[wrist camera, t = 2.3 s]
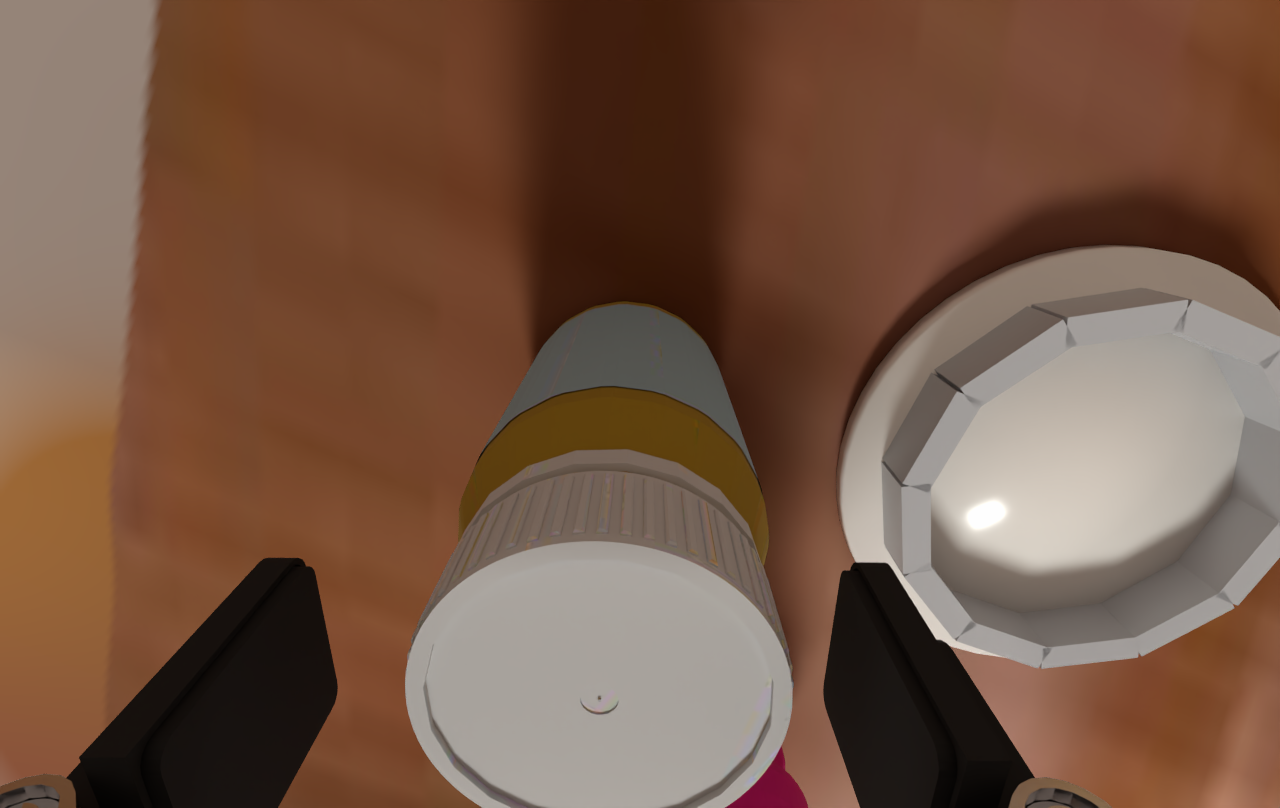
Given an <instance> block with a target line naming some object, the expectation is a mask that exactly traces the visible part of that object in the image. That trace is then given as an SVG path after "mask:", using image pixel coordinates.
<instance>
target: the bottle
mask: <svg viewBox="0 0 1280 808" xmlns="http://www.w3.org/2000/svg"><path fill="white" fill-rule="evenodd" d="M458 542H459V543H458V545H457V547H456V549H455V551H454V553H453V554H452V555H451V557H450V559H449V561H448V563H447V565H446V567H445V569H444V571H443V573H442V575H441V577H440V579H439V581H438V583H437V586H436V588H435V590H434V592H433V594H432V596H431V598H430V600H429V602H428V604H427V606H426V608H425V610H424V612H423V614H422V616H421V618H420V620H419V622H418V626H417V628H416V630H415V632H414V634H413V636H412V639H411V642H412V645H411V648H410V650H409V652H408V656H407V658H408V664H407V669H406V679H405V692H406V703H407V708H408V713H409V717H410V721H411V724H412V727H413V729H414V732H415V734H416V737H417V739H418V741H419V743H420V745H421V746H422V748H423V750H424V752H425V753H426V755H427V756H428V758H429V759H430V761H431V762H432V763H433V765H434V766H435V767H436V768H437V769H438V771H439V772H440V773H441V774H442V775H443V776H444V777H445V778H446V779H447V780H448V781H449V782H450V783H451V784H452V785H453V786H454V787H455V788H456V789H457V790H459V791H460V792H461V793H462V794H464V795H465V796H466V797H467V798H469V799H470V800H472V801H473V802H474V803H476V804H478V805H479V806H481V807H482V808H725V807H727V806H728V805H730V804H731V803H733V802H734V801H735V800H737V799H738V798H739V797H740V796H742V795H743V794H744V793H745V792H746V791H748V790H749V789H750V788H751V787H752V786H753V785H754V784H755V783H756V782H757V781H758V780H759V778H760V777H761V776H762V775H763V774H764V772H765V771H766V770H767V769H768V767H769V766H770V764H771V763H772V761H773V760H774V758H775V757H776V755H777V753H778V751H779V749H780V747H781V745H782V743H783V740H784V738H785V735H786V732H787V729H788V726H789V721H790V717H791V710H792V689H793V683H794V682H793V678H792V675H791V674H792V670H793V668H792V663H791V659H790V656H789V649H788V646H787V642H786V639H785V636H784V632H783V629H782V625H781V622H780V618H779V615H778V612H777V608H776V605H775V601H774V598H773V595H772V591H771V588H770V584H769V581H768V579H767V577H766V573H765V570H764V563H765V559H766V554H767V550H768V546H769V530H768V522H767V515H766V507H765V502H764V499H763V496H762V490H761V487H760V484H759V480H758V477H757V475H756V472H755V469H754V466H753V463H752V461H751V458H750V455H749V452H748V449H747V446H746V444H745V441H744V438H743V435H742V432H741V429H740V427H739V424H738V421H737V418H736V415H735V412H734V410H733V407H732V404H731V401H730V398H729V396H728V393H727V390H726V387H725V384H724V381H723V379H722V376H721V373H720V370H719V367H718V365H717V363H716V361H715V359H714V357H713V356H712V354H711V352H710V350H709V348H708V346H707V344H706V342H705V341H704V340H703V338H702V337H701V336H700V335H699V334H698V333H697V332H696V331H695V330H694V329H693V328H692V327H691V326H690V325H689V324H687V323H686V322H685V321H684V320H683V319H681V318H680V317H678V316H676V315H674V314H672V313H670V312H668V311H666V310H664V309H661V308H659V307H657V306H653V305H650V304H643V303H635V302H628V301H623V302H614V303H608V304H603V305H597V306H594V307H591V308H588V309H586V310H585V311H583V312H581V313H579V314H577V315H575V316H574V317H572V318H570V319H568V320H567V321H566V322H564V323H563V324H562V325H561V326H560V327H559V328H558V329H557V330H556V331H555V333H554V334H553V335H552V336H551V337H550V338H549V339H548V340H547V342H546V343H545V344H544V345H543V347H542V348H541V350H540V351H539V353H538V355H537V357H536V358H535V360H534V362H533V364H532V365H531V367H530V369H529V371H528V372H527V374H526V376H525V378H524V379H523V381H522V383H521V385H520V386H519V388H518V390H517V392H516V393H515V395H514V397H513V399H512V400H511V402H510V404H509V406H508V407H507V409H506V411H505V413H504V414H503V416H502V418H501V420H500V421H499V423H498V425H497V426H496V428H495V430H494V432H493V433H492V435H491V437H490V439H489V440H488V442H487V444H486V446H485V447H484V449H483V451H482V453H481V454H480V456H479V459H478V461H477V464H476V466H475V468H474V470H473V473H472V475H471V477H470V480H469V482H468V484H467V487H466V489H465V491H464V494H463V496H462V499H461V504H460V508H459V533H458Z"/></svg>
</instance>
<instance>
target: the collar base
mask: <svg viewBox="0 0 1280 808" xmlns="http://www.w3.org/2000/svg"><path fill="white" fill-rule="evenodd" d="M836 500H837V507H838V514H839V521H840V524H841V527H842V531H843V534H844V537H845V541H846V543H847V545H848V547H849V550H850V552H851V554H852V556H853V558H854V560H855V562H880V563H888V564H889V565H890V566H891V568H892V569H893V571H894V573H895V574H896V576H897V577H898V579H899V581H900V582H901V584H902V585H903V587H904V589H905V590H906V592H907V593H908V595H909V597H910V598H911V600H912V601H913V603H914V605H915V606H916V608H917V609H918V611H919V613H920V614H921V616H922V617H923V619H924V621H925V622H926V624H927V625H928V627H929V629H930V630H931V632H932V633H933V635H934V637H935V638H936V640H942V641H944V642H946V643H947V644H948V645H949V646H952V647H955V648H959V649H962V650H966V651H970V652H974V653H977V654H984V655H991V656H998V657H1005V658H1008V659H1011V660H1014V661H1017V662H1020V663H1023V664H1026V665H1029V666H1032V667H1035V668H1038V667H1039V666H1040V668H1041V669H1043V668H1052V667H1060V666H1069V665H1078V664H1087V663H1095V662H1104V661H1113V660H1121V659H1130V658H1138V653H1139V654H1140V655H1141V656H1143V655H1145V654H1147V653H1149V652H1151V651H1153V650H1155V649H1157V648H1159V647H1161V646H1163V645H1165V644H1166V643H1168V642H1170V641H1172V640H1174V639H1176V638H1178V637H1180V636H1182V635H1184V634H1186V633H1188V632H1190V631H1191V630H1193V629H1195V628H1197V627H1199V626H1201V625H1203V624H1205V623H1207V622H1209V621H1211V620H1213V619H1215V618H1216V617H1218V616H1220V615H1222V614H1224V613H1226V612H1228V611H1230V610H1232V609H1234V606H1233V604H1236V605H1239V604H1240V603H1241V601H1242V600H1243V599H1244V598H1245V597H1246V596H1247V595H1248V593H1249V592H1250V591H1251V590H1252V589H1253V588H1254V586H1255V585H1256V584H1257V583H1258V582H1259V581H1260V580H1261V578H1262V577H1263V576H1264V575H1265V574H1266V573H1267V571H1268V570H1269V569H1270V568H1271V567H1272V566H1273V565H1274V563H1275V562H1276V561H1277V560H1278V559H1279V558H1280V311H1279V310H1278V309H1277V308H1276V306H1275V305H1274V304H1273V303H1272V302H1271V301H1270V300H1269V298H1268V297H1267V296H1265V295H1264V294H1263V293H1262V292H1260V291H1259V290H1258V289H1257V288H1255V287H1254V286H1253V285H1251V284H1250V283H1249V282H1248V281H1246V280H1245V279H1243V278H1241V277H1240V276H1238V275H1236V274H1234V273H1232V272H1230V271H1229V270H1227V269H1225V268H1223V267H1221V266H1219V265H1216V264H1214V263H1211V262H1208V261H1205V260H1202V259H1199V258H1196V257H1193V256H1190V255H1185V254H1180V253H1174V252H1169V251H1163V250H1158V249H1152V248H1146V247H1140V246H1125V245H1095V246H1084V247H1074V248H1068V249H1063V250H1058V251H1054V252H1049V253H1045V254H1040V255H1037V256H1034V257H1031V258H1028V259H1025V260H1022V261H1019V262H1016V263H1013V264H1011V265H1008V266H1005V267H1003V268H1001V269H999V270H997V271H995V272H993V273H990V274H988V275H986V276H984V277H982V278H980V279H978V280H976V281H974V282H972V283H971V284H969V285H968V286H966V287H964V288H963V289H961V290H960V291H958V292H956V293H955V294H953V295H952V296H950V297H948V298H947V299H945V300H944V301H943V302H941V303H940V304H939V305H938V306H936V307H935V308H934V309H933V310H931V311H930V312H929V313H928V314H926V315H925V316H924V317H923V318H921V319H920V320H919V321H918V322H917V323H916V324H915V325H914V326H913V327H912V328H911V329H910V330H909V331H908V332H907V333H906V334H905V335H904V336H903V337H902V338H901V339H900V340H899V341H898V342H897V343H896V344H895V345H894V346H893V348H892V349H891V350H890V351H889V353H888V354H887V355H886V357H885V358H884V359H883V360H882V362H881V363H880V364H879V365H878V367H877V368H876V369H875V371H874V373H873V374H872V376H871V378H870V379H869V381H868V382H867V384H866V386H865V387H864V389H863V390H862V392H861V394H860V396H859V398H858V400H857V403H856V405H855V407H854V409H853V411H852V413H851V416H850V418H849V420H848V423H847V427H846V430H845V433H844V436H843V440H842V443H841V447H840V453H839V459H838V465H837V471H836ZM1232 603H1233V604H1232Z"/></svg>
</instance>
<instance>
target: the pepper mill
mask: <svg viewBox="0 0 1280 808" xmlns="http://www.w3.org/2000/svg"><path fill="white" fill-rule="evenodd" d="M725 808H808V805H807V802H806V799H805V797H804V794H803V792H802V791H801V789H800V787H799V786H798V784H797V783H796V782H795V780H794V779H793V778H792V777H791V775H790V774H789V773H787V772H786V771H785V759H784V755H783V750H782V746H781V747H780V749H779V751H778V753H777V755H776V757H775V758H774V760H773V761H772V763H771V764H770V766H769V767H768V769H767V770H766V771H765V772H764V774H763V775H762V776H761V777H760V778H759V780H758V781H757V782H756V783H755V784H754V785H753V786H752V787H751V788H750V789H749V790H748V791H746V792H745V793H744V794H743V795H742V796H740V797H739V798H738V799H737V800H735V801H734V802H733V803H731V804H730V805H728V806H727V807H725Z"/></svg>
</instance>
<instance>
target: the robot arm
mask: <svg viewBox="0 0 1280 808" xmlns="http://www.w3.org/2000/svg"><path fill="white" fill-rule="evenodd" d="M337 688H338V686H337V679H336V674H335V669H334V664H333V659H332V654H331V649H330V644H329V640H328V635H327V630H326V625H325V620H324V615H323V610H322V605H321V600H320V595H319V590H318V585H317V580H316V575H315V572H314V570H313V568H312V567H309V566H306V565H305V563H304V561H303V560H302V559H300V558H265V559H263V560H262V561H260V562H259V563H258V564H257V565H256V567H255V568H254V569H253V570H252V571H251V572H250V573H249V574H248V575H247V576H246V577H245V578H244V580H243V581H242V582H241V583H240V584H239V585H238V586H237V587H236V588H235V589H234V590H233V591H232V593H231V594H230V595H229V596H228V597H227V598H226V599H225V600H224V601H223V602H222V603H221V604H220V606H219V607H218V608H217V609H216V610H215V611H214V612H213V613H212V614H211V615H210V616H209V617H208V619H207V620H206V621H205V622H204V623H203V624H202V625H201V626H200V627H199V628H198V629H197V630H196V631H195V633H194V634H193V635H192V636H191V637H190V638H189V639H188V640H187V641H186V642H185V643H184V644H183V646H182V647H181V648H180V649H179V650H178V651H177V652H176V653H175V654H174V655H173V656H172V657H171V659H170V660H169V661H168V662H167V663H166V664H165V665H164V666H163V667H162V668H161V669H160V670H159V672H158V673H157V674H156V675H155V676H154V677H153V678H152V679H151V680H150V681H149V682H148V683H147V684H146V686H145V687H144V688H143V689H142V690H141V691H140V692H139V693H138V694H137V695H136V696H135V697H134V699H133V700H132V701H131V702H130V703H129V704H128V705H127V706H126V707H125V708H124V709H123V710H122V712H121V713H120V714H119V715H118V716H117V717H116V718H115V719H114V720H113V721H112V722H111V723H110V725H109V726H108V727H107V728H106V729H105V730H104V731H103V732H102V733H101V734H100V736H98V738H97V739H96V740H95V741H94V742H93V743H92V744H91V745H90V746H89V747H88V748H87V749H86V751H85V752H84V753H83V754H82V755H81V756H80V757H79V759H80V761H81V762H80V763H79V765H78V766H77V767H76V768H75V769H74V770H73V771H72V772H71V774H69V776H68V777H67V778H65V777H63V776H61V775H51V774H43V775H37V776H31V777H25V778H22V779H19V780H16V781H14V782H11V783H8V784H5V785H2V786H0V808H278V806H279V805H280V803H281V801H282V799H283V797H284V796H285V794H286V792H287V790H288V788H289V786H290V785H291V783H292V781H293V779H294V777H295V775H296V774H297V772H298V770H299V768H300V766H301V764H302V763H303V761H304V759H305V757H306V755H307V754H308V752H309V750H310V748H311V746H312V744H313V743H314V741H315V739H316V737H317V735H318V733H319V732H320V730H321V728H322V726H323V724H324V722H325V721H326V719H327V717H328V715H329V713H330V712H331V710H332V708H333V706H334V703H335V700H336V696H337ZM823 692H824V702H825V707H826V710H827V713H828V716H829V719H830V722H831V725H832V728H833V731H834V733H835V736H836V739H837V742H838V745H839V748H840V751H841V754H842V756H843V759H844V762H845V765H846V768H847V771H848V774H849V777H850V780H851V782H852V785H853V788H854V791H855V794H856V797H857V800H858V803H859V806H860V808H1112V807H1111V806H1110V805H1108V804H1107V803H1106V802H1105V801H1104V800H1102V799H1100V798H1099V797H1097V796H1095V795H1094V794H1092V793H1090V792H1089V791H1087V790H1086V789H1084V788H1081V787H1079V786H1076V785H1074V784H1071V783H1069V782H1066V781H1063V780H1058V779H1052V778H1047V777H1044V778H1035V777H1034V776H1033V774H1032V773H1031V771H1030V770H1029V768H1028V766H1027V765H1026V763H1025V762H1024V760H1023V759H1022V757H1021V756H1020V754H1019V752H1018V751H1017V749H1016V748H1015V746H1014V745H1013V743H1012V742H1011V740H1010V739H1009V737H1008V735H1007V734H1006V732H1005V731H1004V729H1003V728H1002V726H1001V725H1000V723H999V721H998V720H997V718H996V717H995V715H994V714H993V712H992V711H991V709H990V707H989V706H988V704H987V703H986V701H985V700H984V698H983V697H982V695H981V694H980V692H979V690H978V689H977V687H976V686H975V684H974V683H973V681H972V680H971V678H970V676H969V675H968V673H967V672H966V670H965V669H964V667H963V666H962V664H961V663H960V661H959V659H958V658H957V656H956V655H955V653H954V652H953V650H952V649H951V648H950V646H949V645H948V644H947V643H946V642H944V641H942V640H936V638H935V637H934V635H933V633H932V632H931V630H930V629H929V627H928V625H927V624H926V622H925V621H924V619H923V617H922V616H921V614H920V613H919V611H918V609H917V608H916V606H915V605H914V603H913V601H912V600H911V598H910V597H909V595H908V593H907V592H906V590H905V589H904V587H903V585H902V584H901V582H900V581H899V579H898V577H897V576H896V574H895V573H894V571H893V569H892V568H891V566H890V565H889V564H888V563H880V562H855V563H853V565H852V566H851V570H850V571H843V572H842V574H841V577H840V583H839V589H838V596H837V602H836V609H835V615H834V622H833V628H832V635H831V641H830V648H829V654H828V661H827V667H826V674H825V680H824V689H823Z"/></svg>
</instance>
